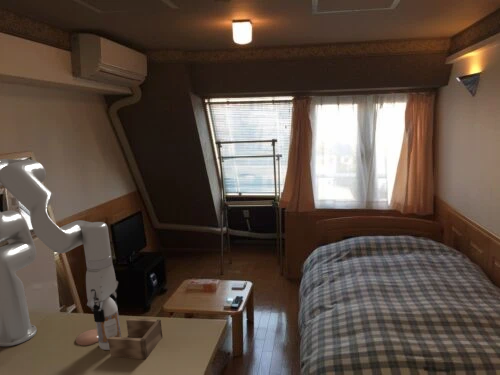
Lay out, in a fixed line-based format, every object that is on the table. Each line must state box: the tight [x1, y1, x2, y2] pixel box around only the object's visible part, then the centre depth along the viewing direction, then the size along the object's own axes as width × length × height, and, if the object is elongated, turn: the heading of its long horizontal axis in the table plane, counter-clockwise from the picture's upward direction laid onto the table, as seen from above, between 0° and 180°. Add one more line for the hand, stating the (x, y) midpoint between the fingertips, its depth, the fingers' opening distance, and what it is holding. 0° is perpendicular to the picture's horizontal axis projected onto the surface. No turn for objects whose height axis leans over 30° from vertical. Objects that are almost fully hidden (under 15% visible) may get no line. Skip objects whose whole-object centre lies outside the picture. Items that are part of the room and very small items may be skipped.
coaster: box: [75, 328, 99, 346], centre depth 138 cm, size 9×9×1 cm
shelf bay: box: [108, 317, 163, 360], centre depth 131 cm, size 12×12×6 cm
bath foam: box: [95, 296, 122, 351], centre depth 132 cm, size 7×7×20 cm
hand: (106, 315), depth 132 cm, fingers closed on bath foam, 7 cm apart
